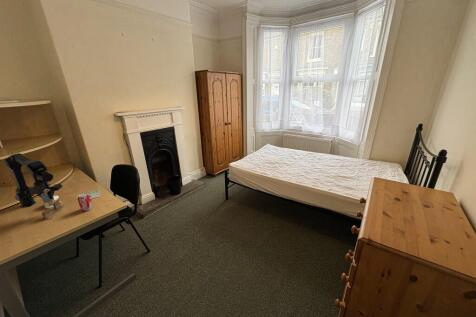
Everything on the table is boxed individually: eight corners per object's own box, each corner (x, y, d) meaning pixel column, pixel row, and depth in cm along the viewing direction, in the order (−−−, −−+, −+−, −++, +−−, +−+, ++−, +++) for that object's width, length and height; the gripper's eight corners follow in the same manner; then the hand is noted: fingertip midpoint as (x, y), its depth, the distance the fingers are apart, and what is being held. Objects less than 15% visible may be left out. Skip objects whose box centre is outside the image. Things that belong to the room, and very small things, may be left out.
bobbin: (42, 209, 143) (39, 202, 141) (50, 202, 151) (47, 196, 149) (56, 207, 145) (53, 201, 143) (63, 201, 153) (61, 194, 151)
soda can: (95, 207, 144) (90, 193, 140) (84, 213, 138) (79, 198, 134) (89, 205, 147) (85, 191, 143) (79, 210, 141) (74, 196, 137)
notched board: (40, 220, 131) (37, 213, 129) (55, 207, 145) (53, 200, 143) (51, 219, 132) (48, 212, 130) (65, 205, 147) (62, 199, 145)
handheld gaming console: (84, 199, 152) (84, 192, 164) (85, 201, 153) (84, 194, 164) (99, 195, 158) (98, 188, 169) (100, 197, 159) (98, 190, 170)
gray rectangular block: (43, 203, 133) (40, 194, 131) (47, 200, 137) (44, 191, 135) (50, 202, 134) (47, 193, 132) (54, 199, 138) (50, 190, 135)
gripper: (13, 186, 120) (23, 207, 126) (48, 183, 124) (56, 203, 130) (27, 179, 131) (35, 199, 136) (59, 176, 134) (66, 195, 140)
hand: (48, 199), depth 135 cm, fingers closed on gray rectangular block, 4 cm apart
